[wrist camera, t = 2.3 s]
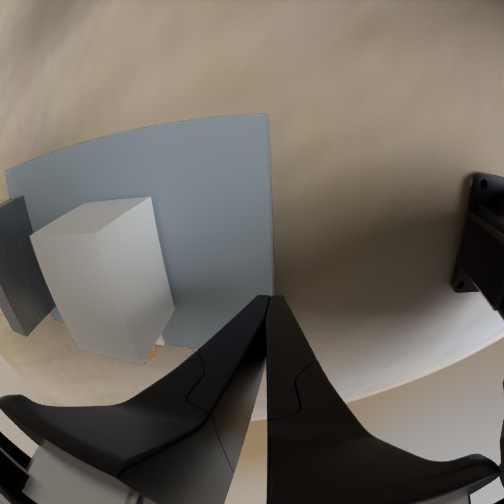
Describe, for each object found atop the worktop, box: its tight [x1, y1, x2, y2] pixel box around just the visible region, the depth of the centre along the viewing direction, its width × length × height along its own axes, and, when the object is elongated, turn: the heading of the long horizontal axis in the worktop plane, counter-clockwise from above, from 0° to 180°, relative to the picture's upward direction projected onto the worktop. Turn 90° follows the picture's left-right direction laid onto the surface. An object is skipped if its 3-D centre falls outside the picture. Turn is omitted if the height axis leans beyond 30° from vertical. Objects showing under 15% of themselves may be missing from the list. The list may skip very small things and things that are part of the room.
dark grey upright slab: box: [0, 195, 56, 337], centre depth 13 cm, size 2×8×4 cm, turn 4°
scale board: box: [5, 113, 274, 348], centre depth 14 cm, size 17×12×2 cm
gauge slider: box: [30, 196, 175, 365], centre depth 12 cm, size 4×9×4 cm, turn 4°
